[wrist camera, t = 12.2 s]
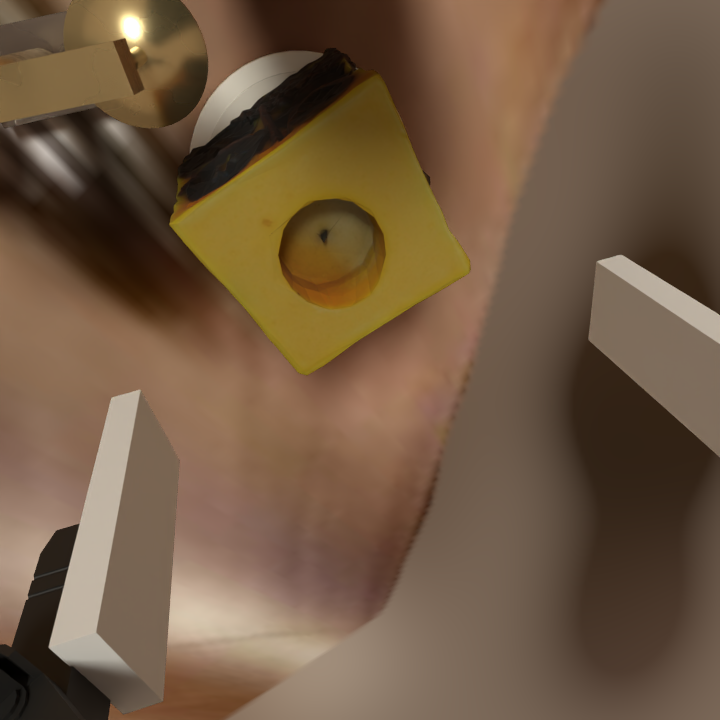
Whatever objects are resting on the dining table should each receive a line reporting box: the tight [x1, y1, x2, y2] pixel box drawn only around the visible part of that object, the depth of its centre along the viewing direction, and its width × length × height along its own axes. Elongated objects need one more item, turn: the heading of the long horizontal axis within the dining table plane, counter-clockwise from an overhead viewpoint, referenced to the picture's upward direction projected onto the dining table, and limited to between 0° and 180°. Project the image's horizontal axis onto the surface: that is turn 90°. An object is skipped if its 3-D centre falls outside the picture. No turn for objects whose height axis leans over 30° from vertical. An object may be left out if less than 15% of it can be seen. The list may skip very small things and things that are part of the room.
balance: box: [0, 0, 208, 128], centre depth 20 cm, size 16×5×14 cm, turn 100°
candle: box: [169, 48, 471, 375], centre depth 26 cm, size 10×10×10 cm
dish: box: [190, 50, 401, 152], centre depth 31 cm, size 13×13×1 cm
